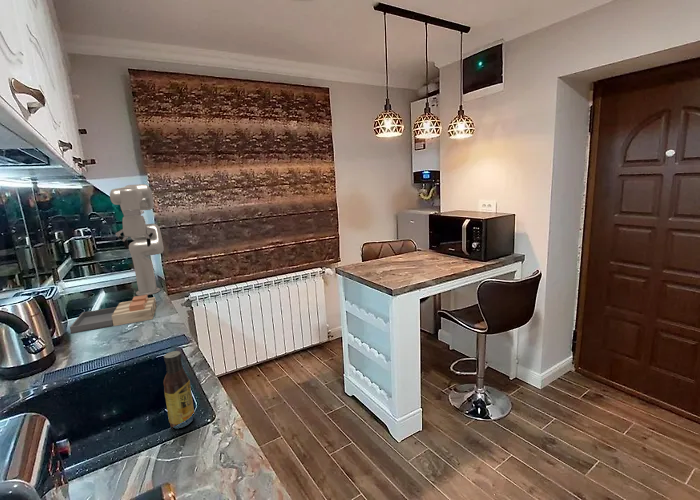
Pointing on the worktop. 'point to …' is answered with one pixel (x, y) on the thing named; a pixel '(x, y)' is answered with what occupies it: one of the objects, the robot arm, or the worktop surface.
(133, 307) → the tile
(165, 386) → the sauce bottle
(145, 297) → the tile
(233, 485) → the worktop surface
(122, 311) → the bench plate
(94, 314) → the box
